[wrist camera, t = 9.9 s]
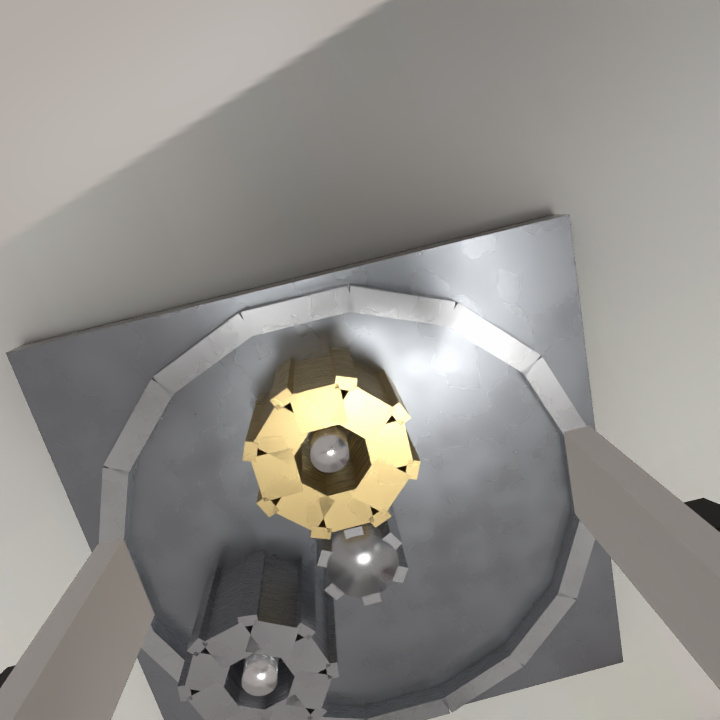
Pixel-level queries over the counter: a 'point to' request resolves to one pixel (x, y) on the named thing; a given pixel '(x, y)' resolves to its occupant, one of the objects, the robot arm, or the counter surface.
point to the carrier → (331, 453)
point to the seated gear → (262, 641)
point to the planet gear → (321, 410)
